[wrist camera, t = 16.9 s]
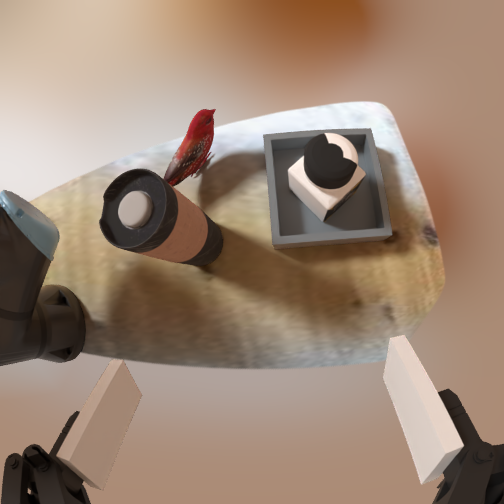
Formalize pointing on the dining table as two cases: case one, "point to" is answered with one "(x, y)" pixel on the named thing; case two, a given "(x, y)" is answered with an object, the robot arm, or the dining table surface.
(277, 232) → the open-top bin
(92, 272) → the dining table surface
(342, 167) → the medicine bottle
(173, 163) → the decorative bird figurine
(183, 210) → the travel mug
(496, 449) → the robot arm
